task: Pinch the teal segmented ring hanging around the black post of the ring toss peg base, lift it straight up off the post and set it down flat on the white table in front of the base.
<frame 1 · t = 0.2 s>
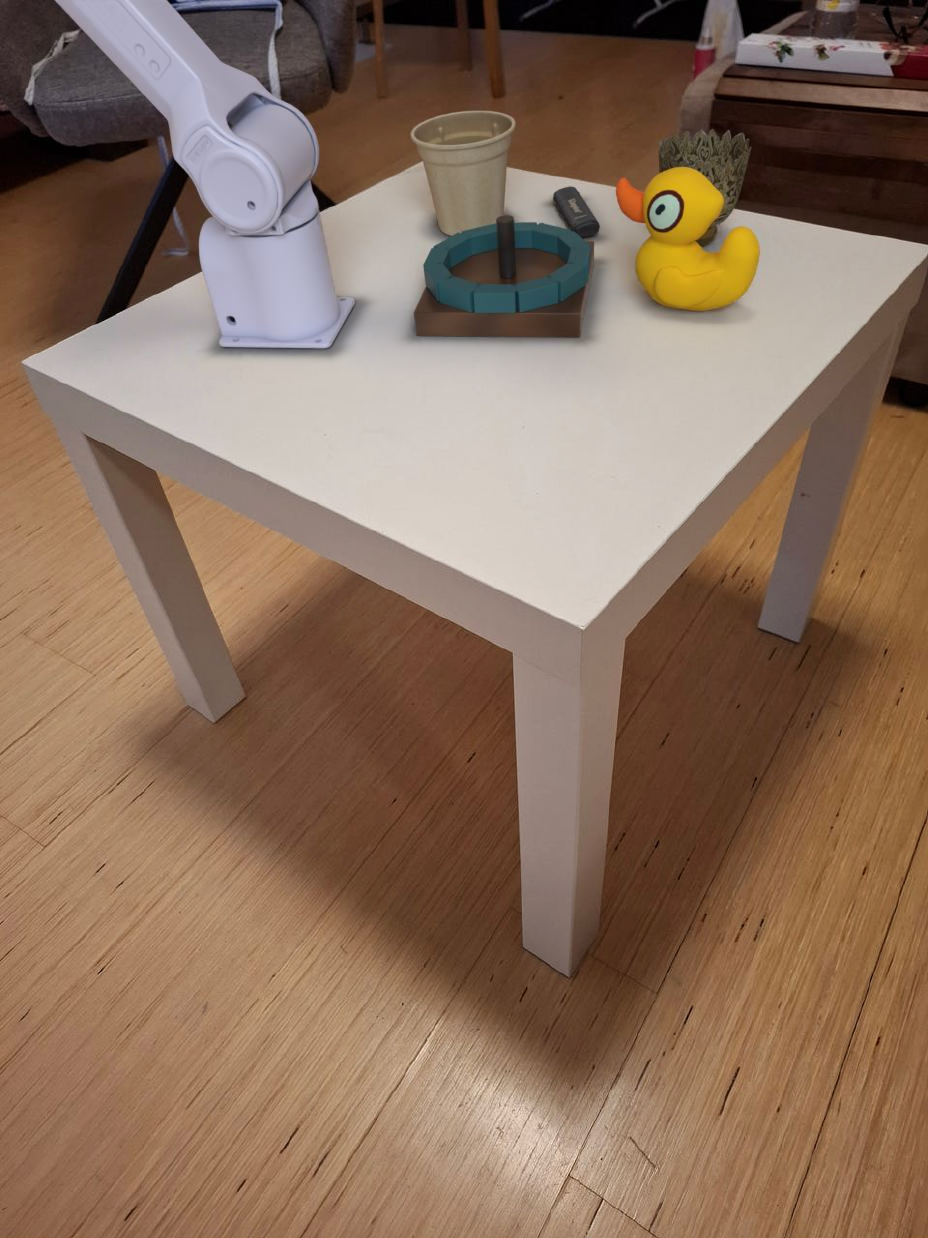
cup: (694, 242, 78), on the table
teal segmented ring: (507, 274, 71), point 2 cm above the table, touching ring toss peg base
flower pot: (470, 227, 84), on the table
duckling: (681, 306, 70), on the table
ring toss peg base: (509, 298, 73), on the table
usb stick: (575, 221, 83), on the table
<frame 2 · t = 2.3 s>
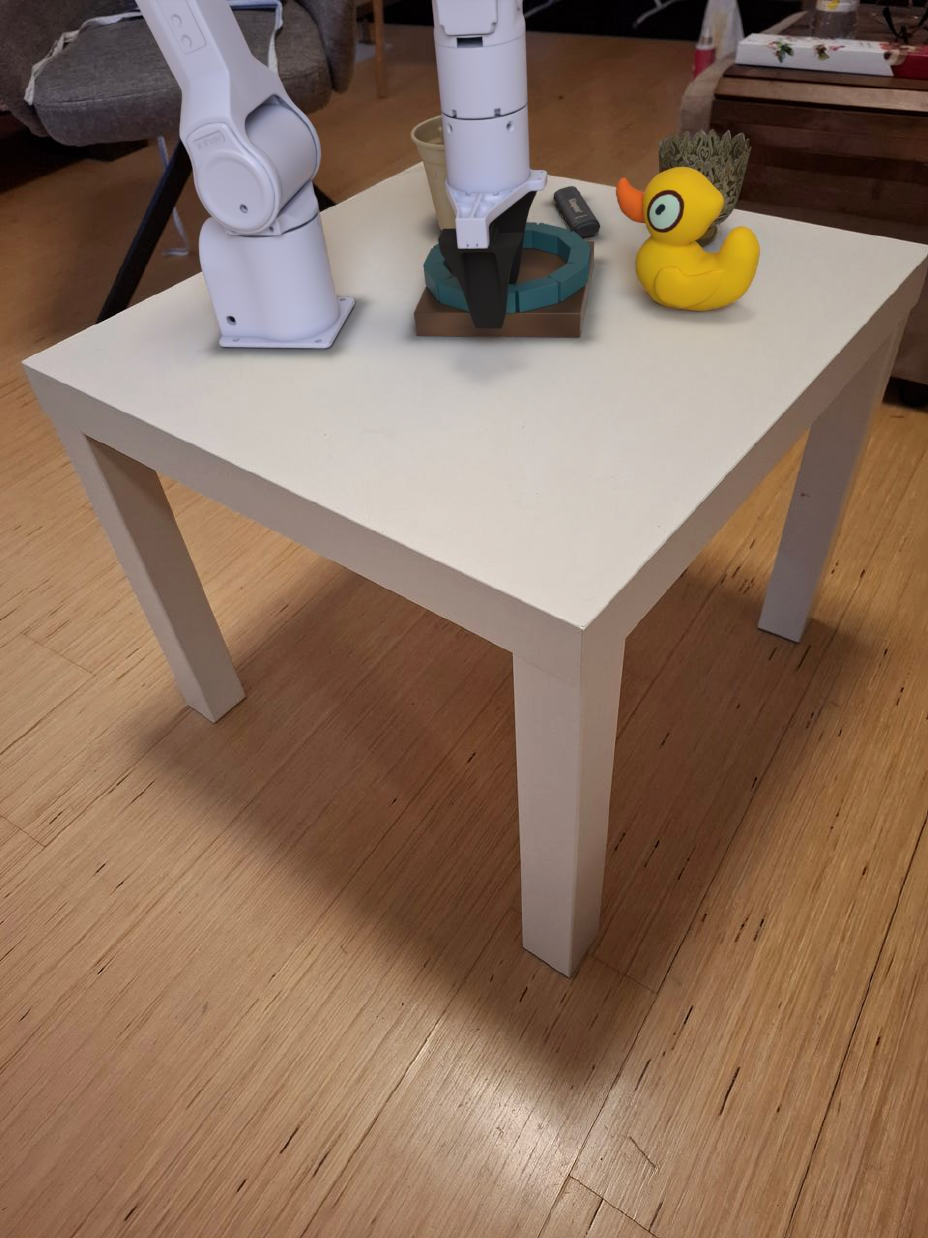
hand: (496, 303, 67), 2 cm above the table, tool pointing down, fingers open, 7 cm apart
nothing on the table moved.
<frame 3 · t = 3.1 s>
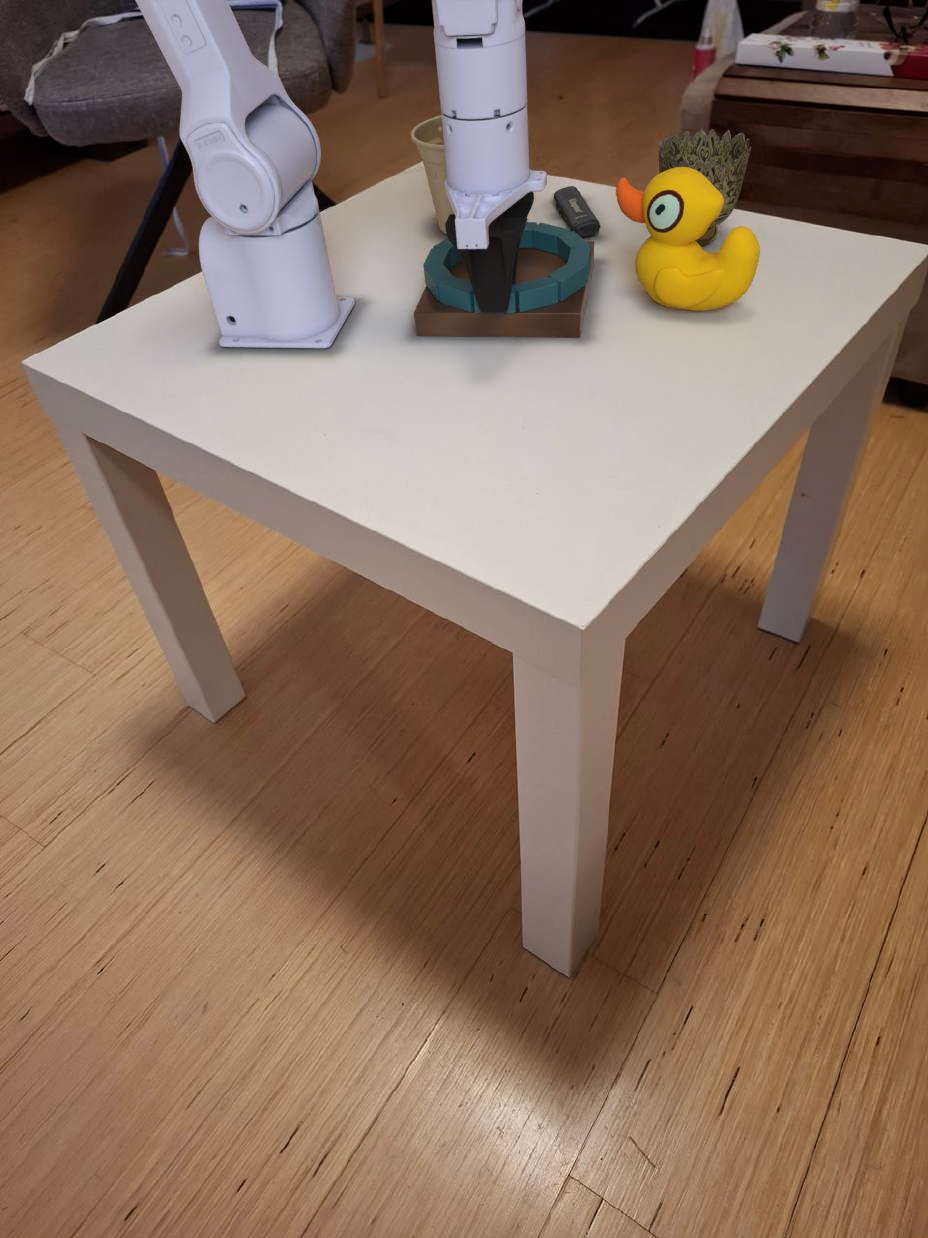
hand: (496, 303, 67), 2 cm above the table, tool pointing down, fingers closed on teal segmented ring, 2 cm apart
teal segmented ring: (507, 274, 71), point 2 cm above the table, touching gripper, ring toss peg base
everything else where it was.
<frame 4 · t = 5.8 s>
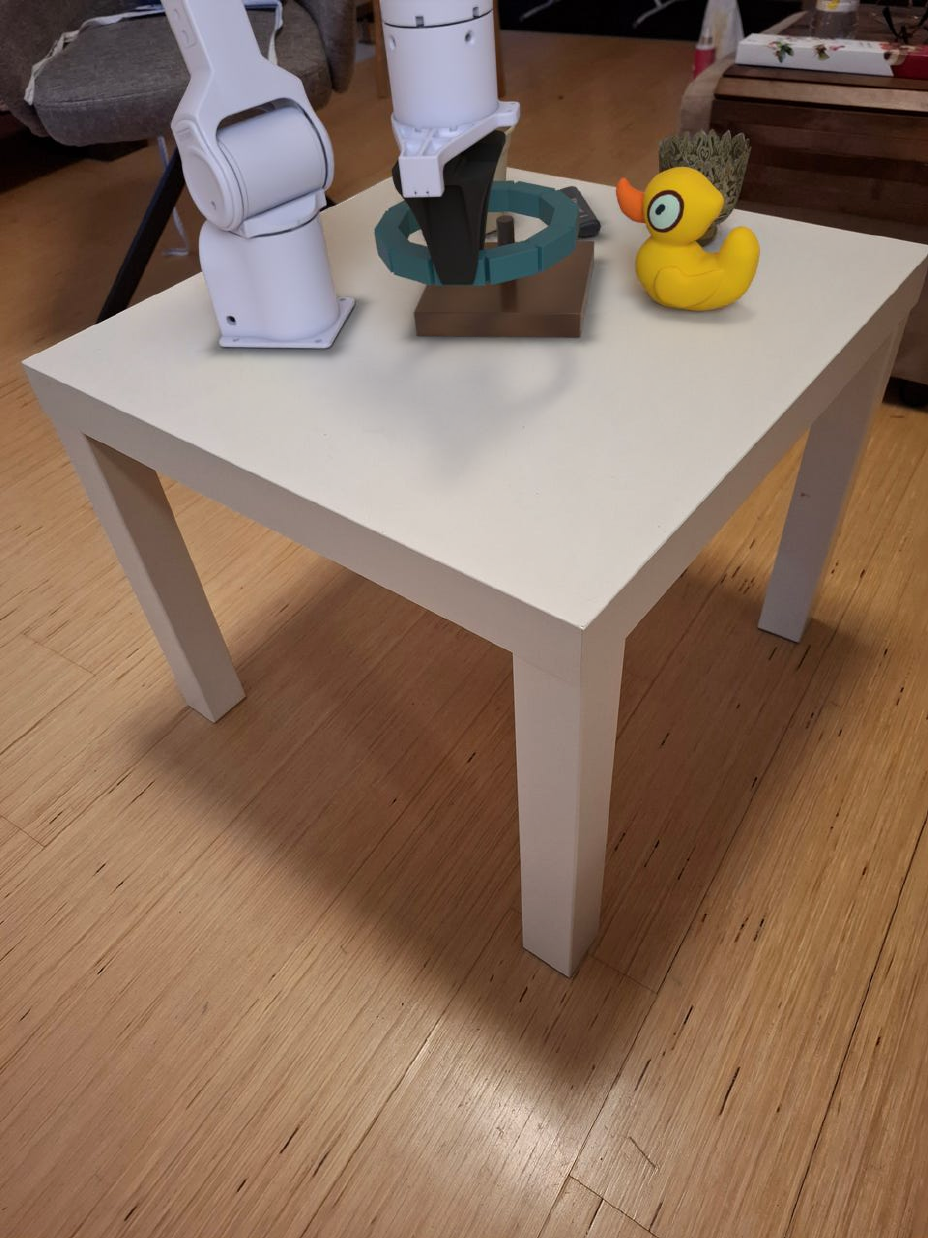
hand: (461, 274, 54), 10 cm above the table, tool pointing down, fingers closed on teal segmented ring
teal segmented ring: (478, 241, 59), point 9 cm above the table, touching gripper
everything else where it was.
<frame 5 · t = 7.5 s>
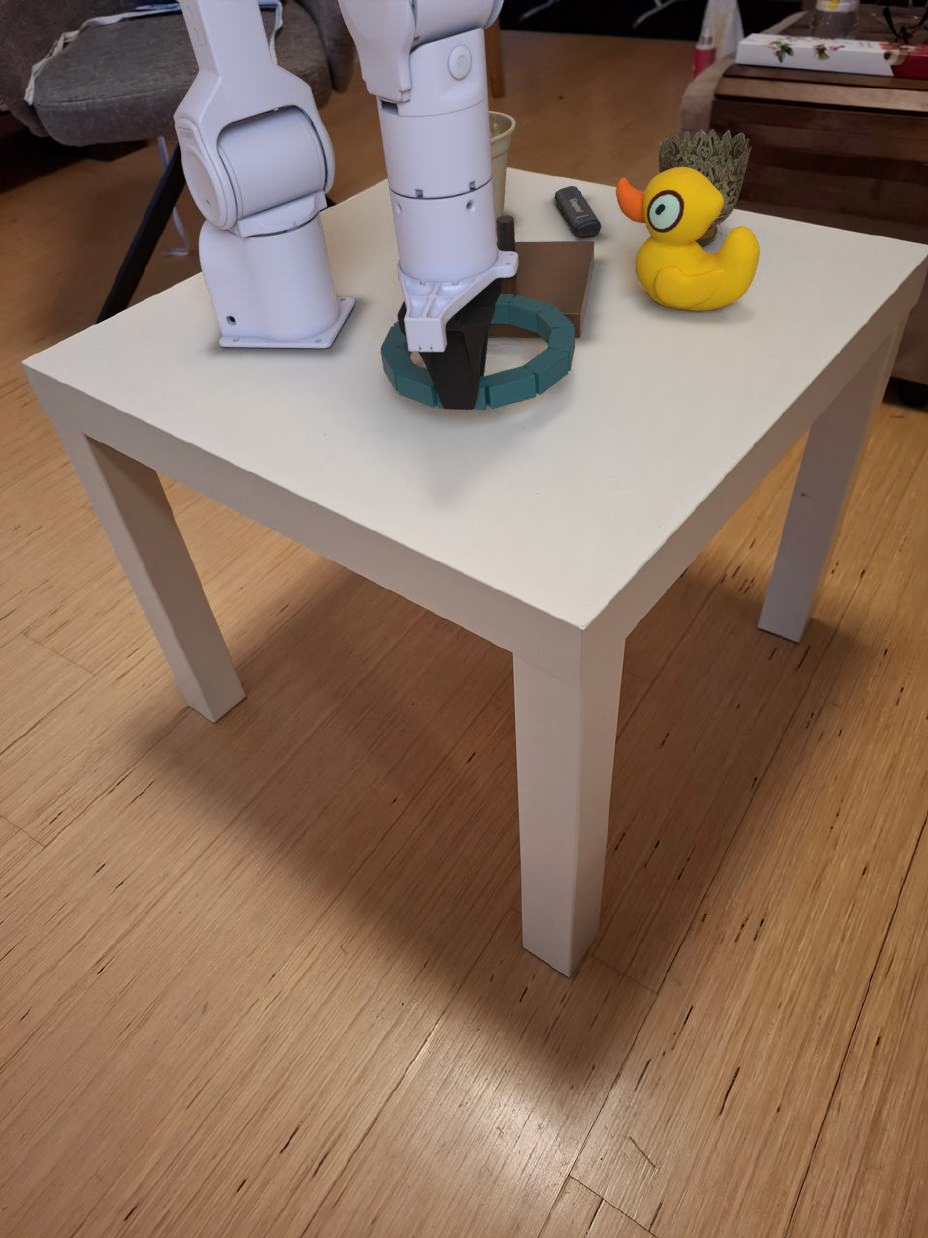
hand: (462, 397, 57), 3 cm above the table, tool pointing down, fingers closed on teal segmented ring, 1 cm apart
teal segmented ring: (479, 358, 62), point 2 cm above the table, touching gripper
everything else where it was.
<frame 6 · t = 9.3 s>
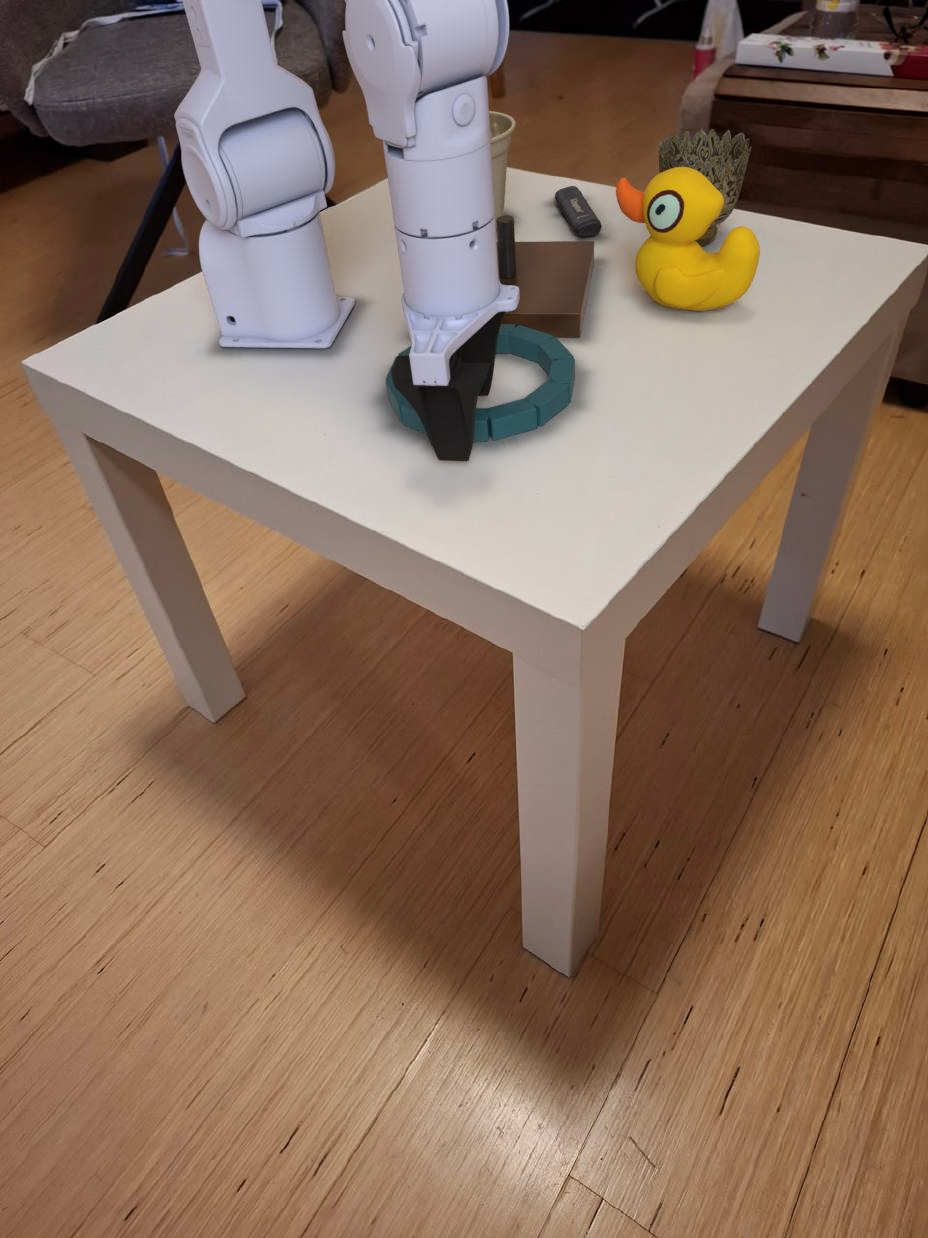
hand: (465, 424, 59), 1 cm above the table, tool pointing down, fingers open, 7 cm apart
teal segmented ring: (481, 388, 63), on the table
everything else where it was.
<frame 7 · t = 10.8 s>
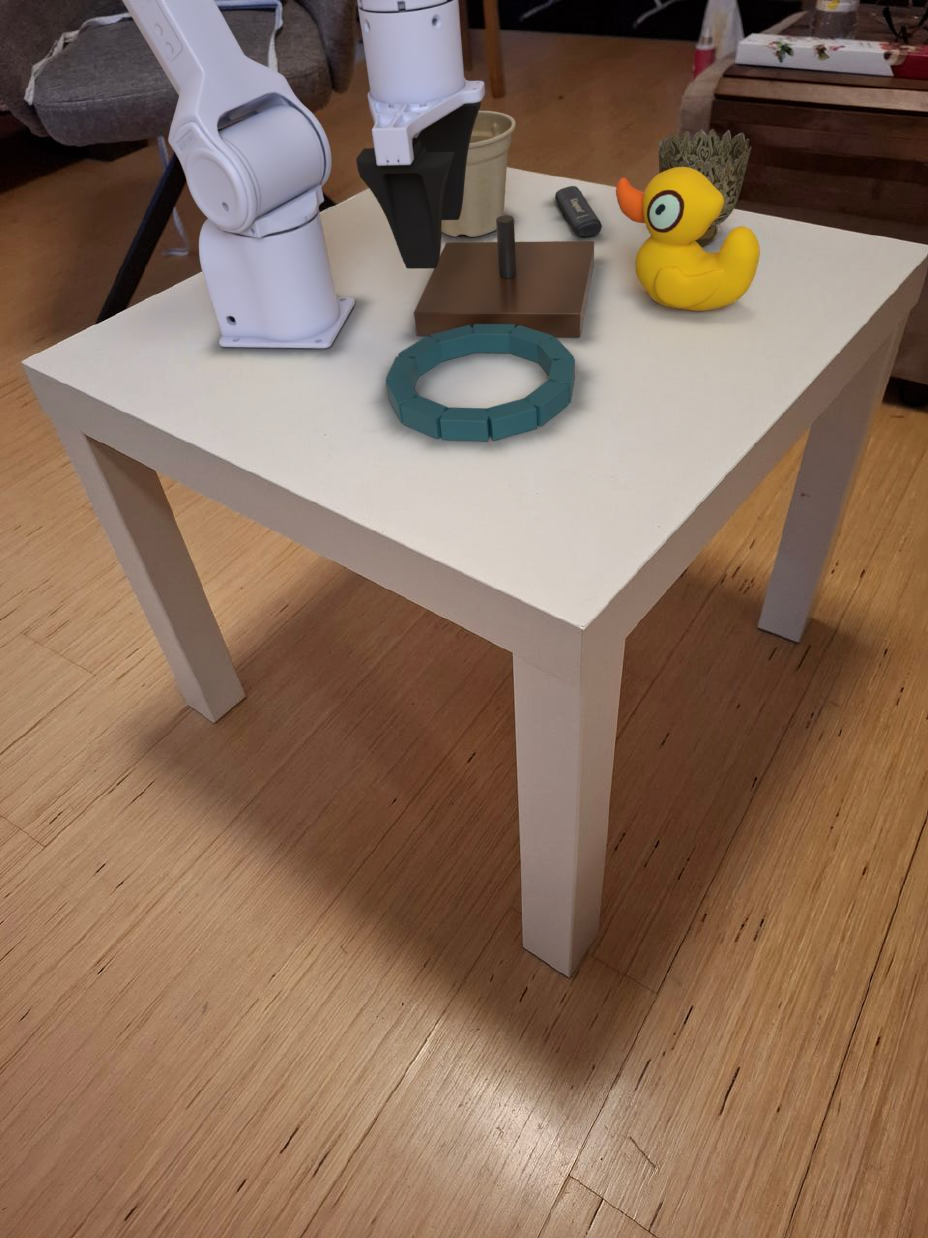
hand: (434, 241, 59), 9 cm above the table, tool pointing down, fingers open, 7 cm apart
nothing on the table moved.
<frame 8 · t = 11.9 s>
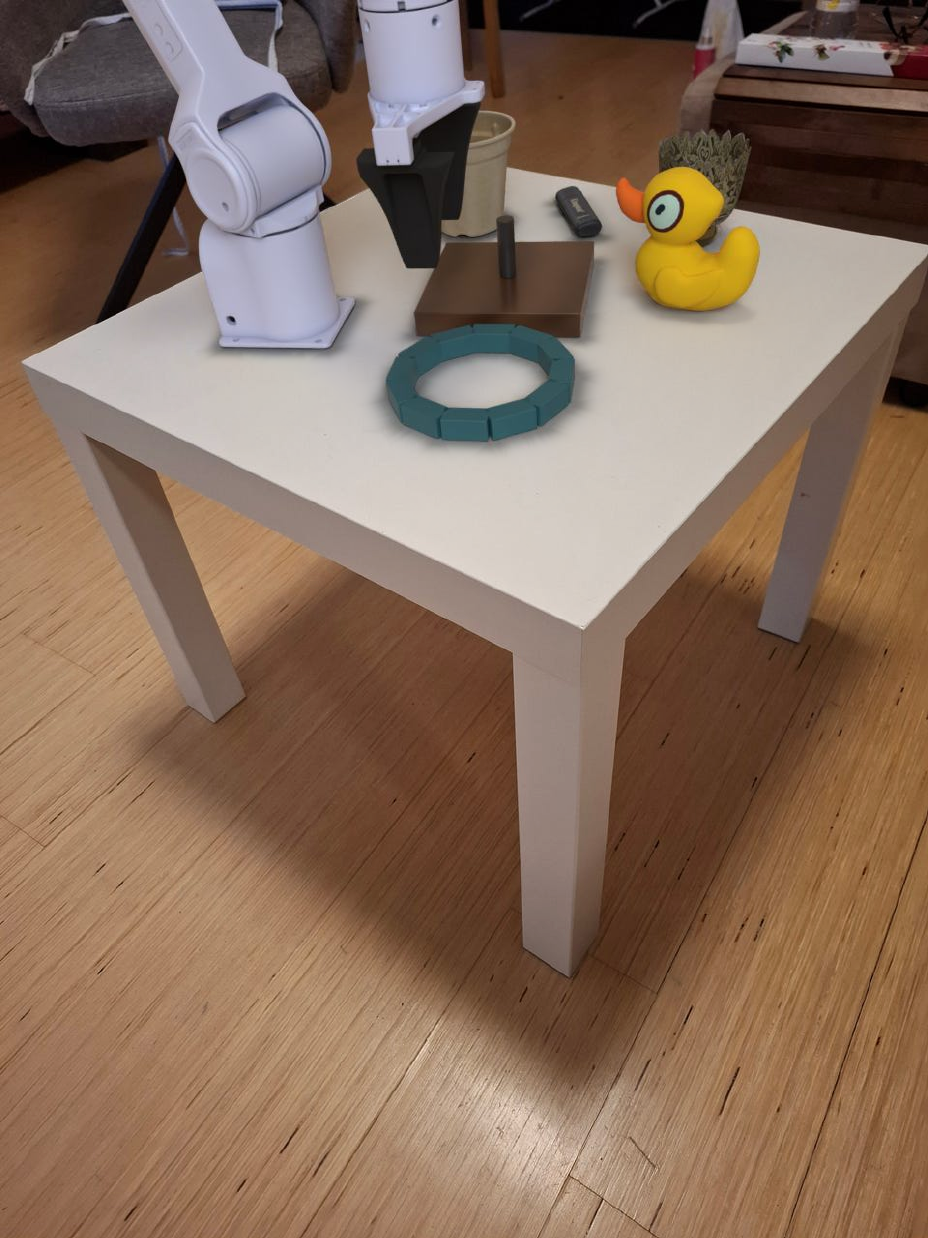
hand: (434, 241, 59), 9 cm above the table, tool pointing down, fingers open, 7 cm apart
nothing on the table moved.
at the end: teal segmented ring inside the target area (0.1 cm from its centre), on the table; teal segmented ring tilted 0°; the gripper is holding nothing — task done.
